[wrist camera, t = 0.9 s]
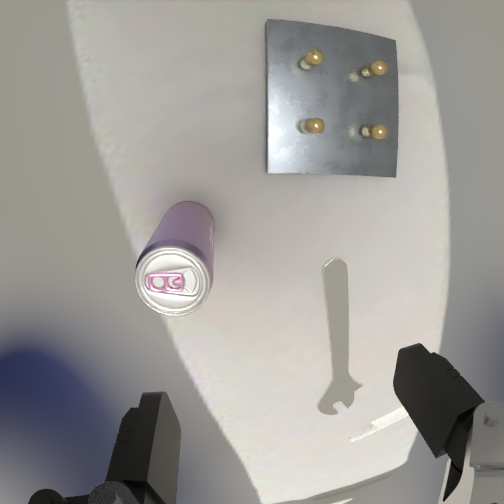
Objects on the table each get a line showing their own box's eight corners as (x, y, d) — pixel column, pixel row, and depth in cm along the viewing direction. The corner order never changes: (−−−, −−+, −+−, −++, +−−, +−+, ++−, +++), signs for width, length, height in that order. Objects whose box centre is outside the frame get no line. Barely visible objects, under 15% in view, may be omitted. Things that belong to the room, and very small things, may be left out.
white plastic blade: (346, 429, 55) (348, 433, 54) (409, 399, 54) (411, 402, 53) (350, 440, 56) (351, 443, 55) (409, 411, 56) (412, 414, 55)
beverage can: (162, 201, 34) (126, 245, 20) (213, 199, 35) (211, 243, 21) (165, 250, 36) (138, 318, 22) (214, 249, 37) (214, 318, 23)
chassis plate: (265, 23, 28) (273, 7, 23) (389, 42, 29) (410, 34, 25) (266, 171, 34) (274, 177, 30) (389, 175, 36) (411, 182, 31)
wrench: (318, 416, 51) (319, 419, 50) (300, 264, 39) (302, 267, 39) (359, 403, 51) (361, 406, 51) (360, 250, 40) (362, 252, 39)
